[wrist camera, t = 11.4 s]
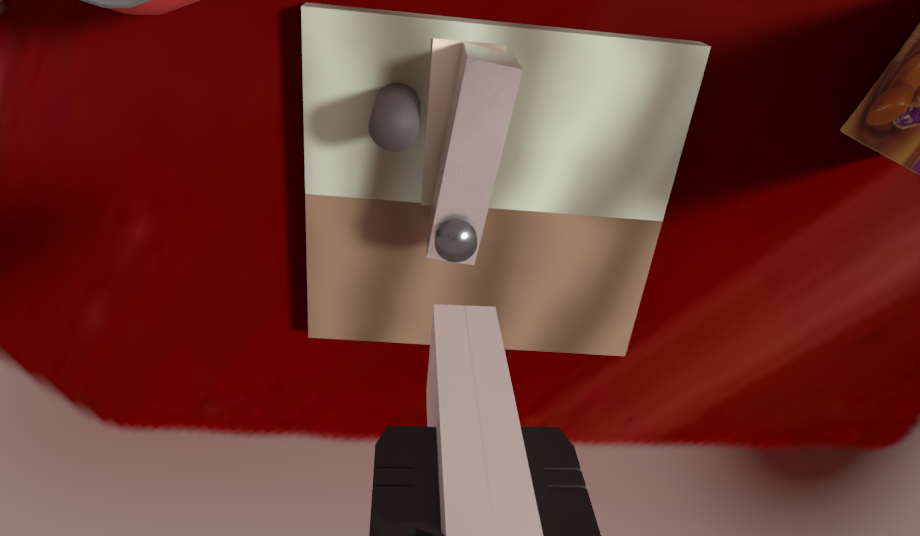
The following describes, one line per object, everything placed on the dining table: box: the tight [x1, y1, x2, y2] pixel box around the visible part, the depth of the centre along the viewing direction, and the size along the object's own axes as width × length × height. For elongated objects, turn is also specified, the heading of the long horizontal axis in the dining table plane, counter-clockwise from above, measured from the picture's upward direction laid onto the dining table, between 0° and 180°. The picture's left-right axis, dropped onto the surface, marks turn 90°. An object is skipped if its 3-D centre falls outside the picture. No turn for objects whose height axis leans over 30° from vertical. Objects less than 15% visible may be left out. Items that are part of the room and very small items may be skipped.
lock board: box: [301, 2, 711, 356], centre depth 36 cm, size 21×20×6 cm
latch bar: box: [426, 42, 523, 265], centre depth 33 cm, size 10×3×5 cm, turn 168°
